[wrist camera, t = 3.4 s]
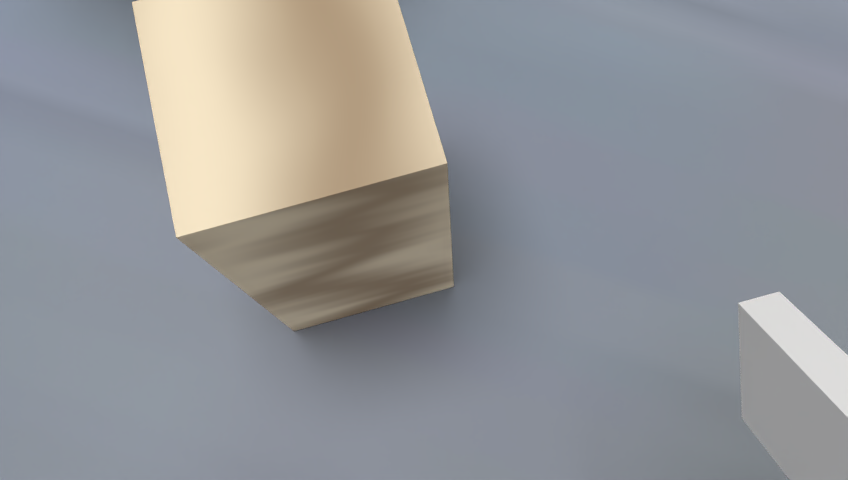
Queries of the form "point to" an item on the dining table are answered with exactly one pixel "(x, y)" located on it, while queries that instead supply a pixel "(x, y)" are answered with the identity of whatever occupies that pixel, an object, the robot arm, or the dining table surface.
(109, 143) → the dining table surface
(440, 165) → the oak block
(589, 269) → the dining table surface
